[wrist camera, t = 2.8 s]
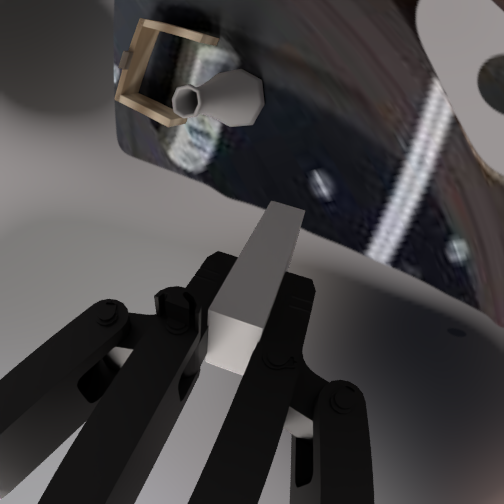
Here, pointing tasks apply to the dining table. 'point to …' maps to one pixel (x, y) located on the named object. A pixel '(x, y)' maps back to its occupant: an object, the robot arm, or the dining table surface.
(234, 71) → the flask
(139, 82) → the u-shaped wooden frame
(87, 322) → the robot arm
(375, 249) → the dining table surface
